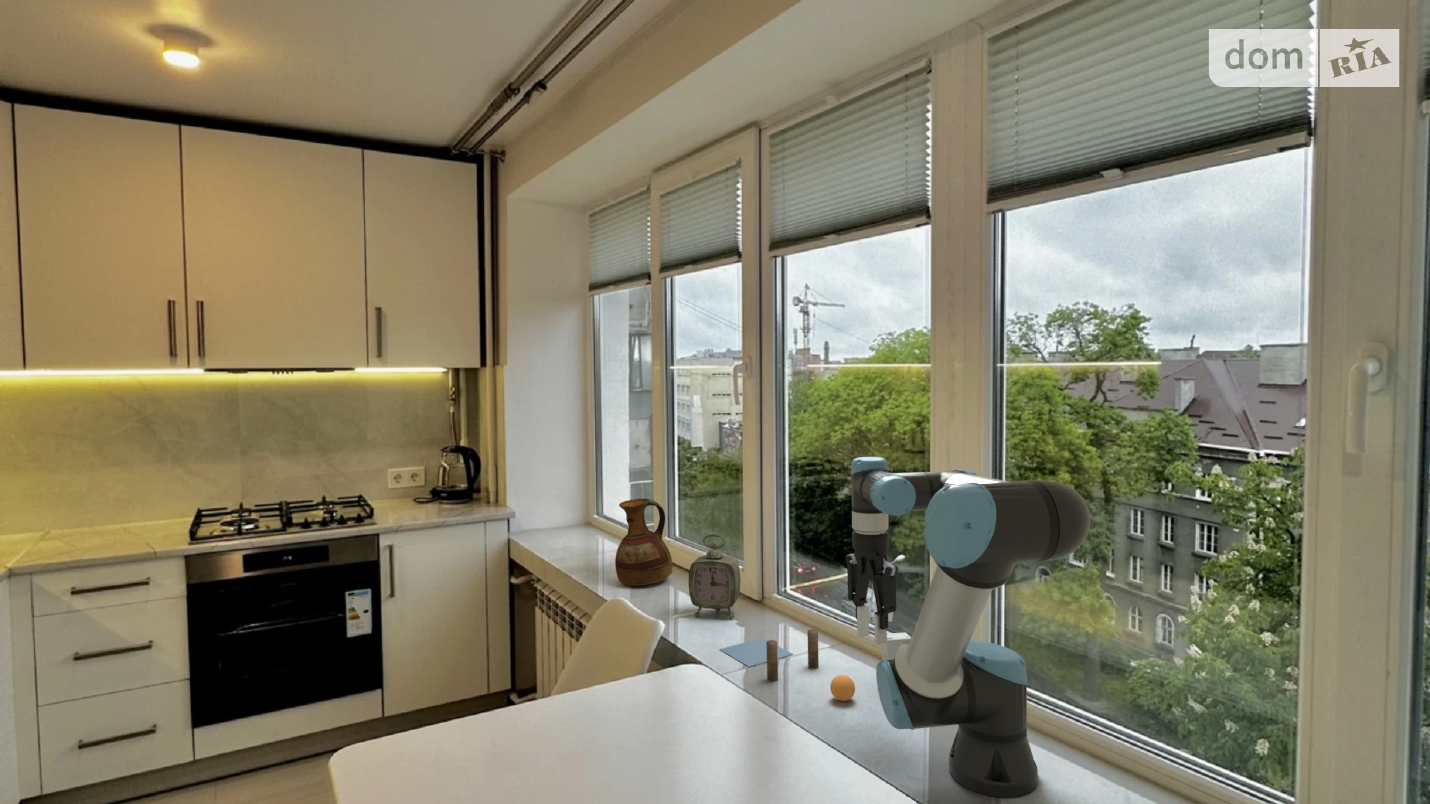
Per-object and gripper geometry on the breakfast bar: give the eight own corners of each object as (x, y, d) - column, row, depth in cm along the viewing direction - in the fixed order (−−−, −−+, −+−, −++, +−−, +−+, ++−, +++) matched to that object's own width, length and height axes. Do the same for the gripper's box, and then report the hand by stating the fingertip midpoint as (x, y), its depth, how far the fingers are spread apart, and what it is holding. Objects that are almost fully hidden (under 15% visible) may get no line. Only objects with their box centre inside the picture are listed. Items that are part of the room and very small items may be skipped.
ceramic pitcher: (609, 579, 265) (606, 497, 264) (661, 571, 274) (659, 491, 272) (626, 593, 247) (623, 505, 246) (681, 585, 256) (679, 499, 255)
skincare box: (906, 681, 173) (906, 631, 173) (913, 690, 169) (913, 638, 168) (881, 683, 173) (880, 632, 172) (887, 691, 168) (887, 639, 168)
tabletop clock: (689, 618, 221) (687, 536, 220) (697, 609, 229) (695, 530, 228) (736, 621, 217) (734, 538, 216) (742, 611, 226) (740, 531, 225)
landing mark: (793, 654, 191) (793, 654, 191) (749, 667, 184) (749, 666, 184) (762, 638, 203) (762, 638, 203) (719, 649, 196) (719, 649, 196)
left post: (780, 679, 176) (779, 642, 176) (771, 682, 175) (770, 645, 174) (773, 675, 178) (773, 639, 178) (765, 678, 177) (764, 641, 176)
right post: (820, 667, 183) (820, 631, 182) (812, 669, 181) (812, 633, 181) (814, 663, 185) (813, 628, 184) (806, 666, 183) (805, 630, 183)
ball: (860, 701, 164) (860, 677, 163) (841, 707, 161) (841, 683, 160) (843, 692, 168) (843, 668, 168) (825, 698, 165) (825, 674, 165)
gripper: (914, 535, 149) (915, 648, 150) (855, 521, 164) (856, 624, 165) (887, 540, 145) (889, 656, 146) (829, 525, 160) (831, 631, 161)
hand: (871, 639), depth 156 cm, fingers open, 4 cm apart
